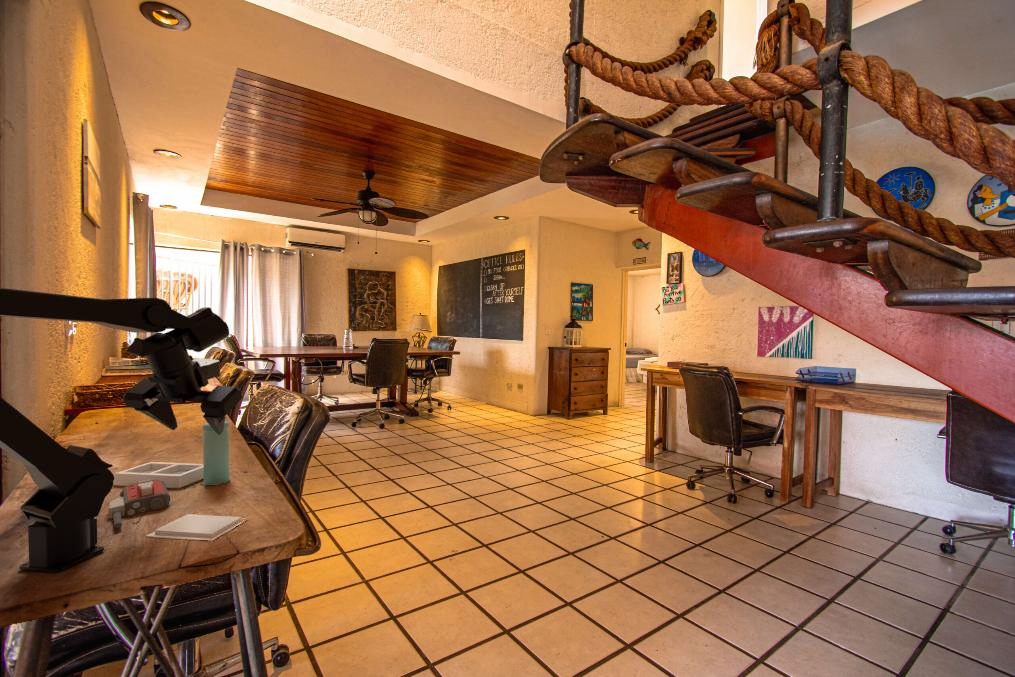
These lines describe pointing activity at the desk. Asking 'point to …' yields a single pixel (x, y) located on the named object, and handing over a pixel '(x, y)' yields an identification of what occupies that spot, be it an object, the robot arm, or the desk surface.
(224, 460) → the green banded cylinder
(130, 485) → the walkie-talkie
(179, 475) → the housing
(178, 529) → the lid
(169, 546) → the desk surface
